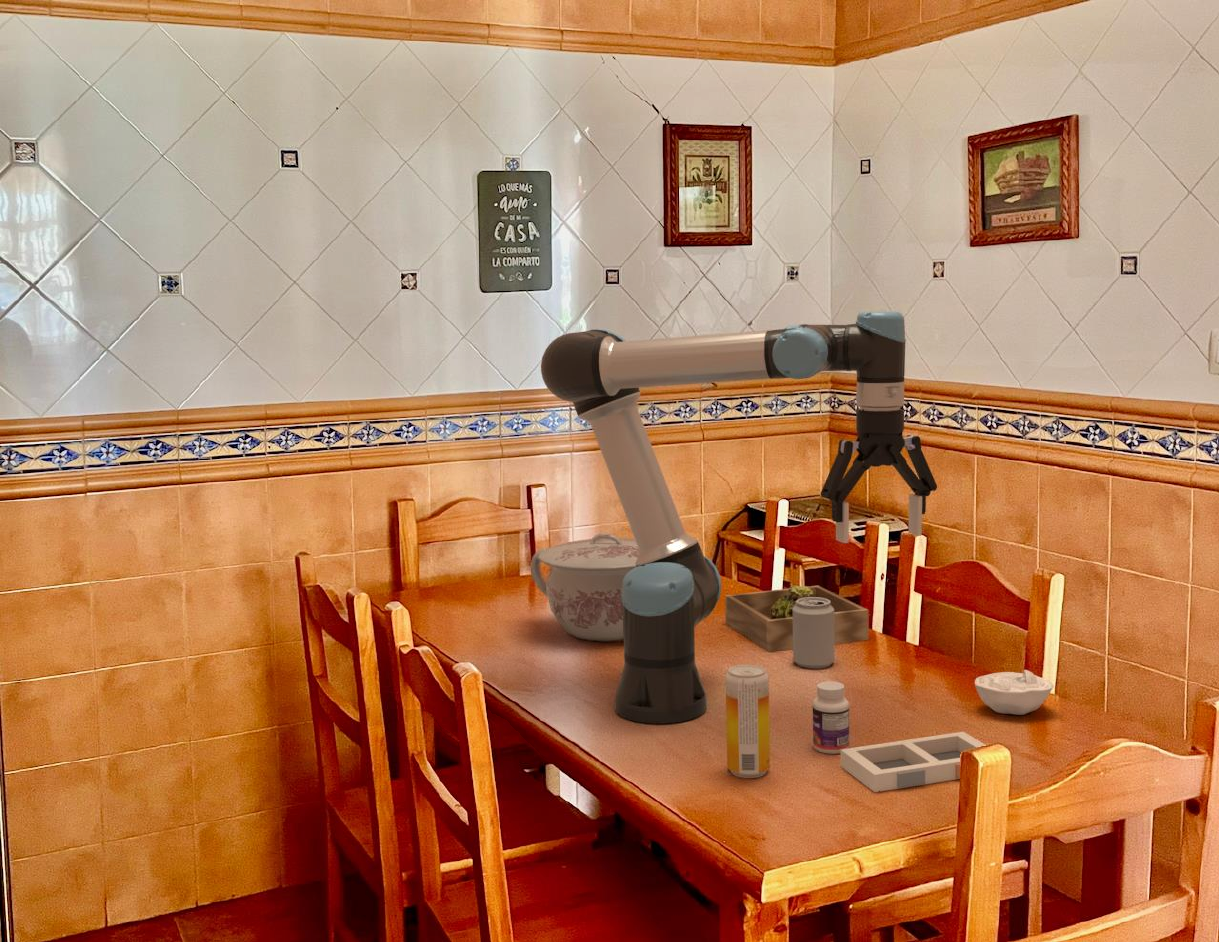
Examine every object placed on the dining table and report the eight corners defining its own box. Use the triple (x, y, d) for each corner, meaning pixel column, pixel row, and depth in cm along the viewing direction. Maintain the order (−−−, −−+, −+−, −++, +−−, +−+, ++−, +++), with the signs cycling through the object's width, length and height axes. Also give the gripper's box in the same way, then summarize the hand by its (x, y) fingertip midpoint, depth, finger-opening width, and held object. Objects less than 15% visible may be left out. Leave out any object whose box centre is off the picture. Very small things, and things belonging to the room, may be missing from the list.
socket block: (876, 793, 168) (876, 775, 167) (840, 766, 178) (840, 749, 177) (1004, 773, 173) (1004, 756, 173) (963, 747, 183) (963, 731, 183)
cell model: (970, 700, 204) (970, 660, 203) (1046, 702, 202) (1046, 662, 201) (978, 721, 194) (978, 680, 193) (1057, 723, 192) (1058, 681, 191)
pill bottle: (812, 741, 188) (811, 679, 186) (848, 741, 187) (847, 679, 186) (813, 754, 182) (813, 691, 181) (850, 754, 182) (850, 691, 180)
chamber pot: (698, 640, 244) (696, 537, 241) (567, 660, 234) (563, 552, 231) (642, 609, 269) (640, 515, 266) (522, 625, 259) (518, 528, 256)
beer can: (766, 762, 180) (764, 662, 178) (773, 778, 174) (771, 675, 172) (724, 764, 180) (722, 664, 178) (730, 780, 174) (728, 677, 172)
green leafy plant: (837, 646, 238) (837, 597, 236) (755, 642, 242) (754, 594, 240) (845, 623, 254) (845, 576, 253) (768, 619, 258) (767, 574, 257)
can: (834, 670, 222) (833, 605, 220) (792, 669, 223) (791, 604, 222) (835, 658, 229) (834, 595, 227) (794, 657, 231) (793, 594, 229)
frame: (768, 652, 234) (768, 621, 234) (725, 623, 255) (725, 595, 255) (868, 640, 240) (868, 609, 239) (818, 613, 261) (818, 585, 260)
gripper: (822, 414, 191) (822, 549, 194) (960, 406, 199) (957, 535, 202) (799, 410, 198) (799, 540, 201) (933, 402, 206) (931, 527, 209)
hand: (879, 538), depth 202 cm, fingers open, 13 cm apart
